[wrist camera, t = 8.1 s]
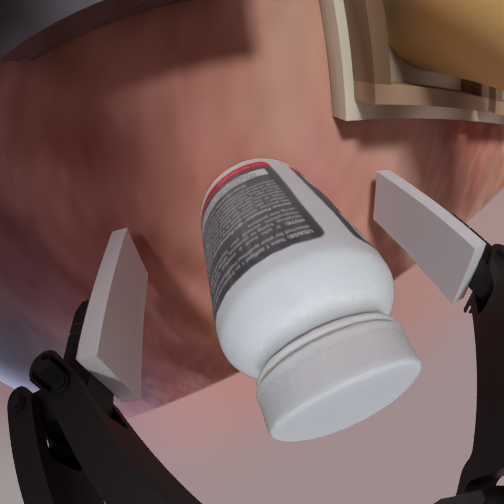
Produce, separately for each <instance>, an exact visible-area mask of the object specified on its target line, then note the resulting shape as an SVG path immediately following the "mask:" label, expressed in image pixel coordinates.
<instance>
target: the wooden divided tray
mask: <svg viewBox="0 0 504 504" xmlns="http://www.w3.org/2000/svg"><path fill="white" fill-rule="evenodd" d="M319 1H320V7H321V13H322V19H323V26H324V32H325V40H326V47H327V55H328V64H329V74H330V84H331V96H332V110H333V116H334V117H337V118H340V119H342V120H345V121H354V120H370V119H402V118H420V119H451V120H466V121H478V122H487V123H496V124H503V125H504V91H502V90H500V89H497V88H494V87H490V86H487V85H484V84H481V83H477V82H474V81H470V80H466V79H462V78H458V77H454V76H450V75H445V74H440V73H435V72H430V71H424V70H420V69H416V68H414V67H412V66H410V65H408V64H407V63H406V62H404V61H403V60H402V59H401V58H400V57H399V56H398V55H397V54H396V53H395V52H394V51H393V49H392V48H391V47H390V45H389V44H388V36H387V27H386V20H385V13H384V7H383V1H382V0H319Z"/></svg>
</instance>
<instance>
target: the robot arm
mask: <svg viewBox="0 0 504 504" xmlns="http://www.w3.org/2000/svg"><path fill="white" fill-rule="evenodd" d="M373 220H375V221H376V222H377V223H378V224H379V225H380V226H381V227H382V228H383V229H384V230H385V231H386V232H387V233H388V234H389V235H390V236H391V237H392V238H393V239H394V240H395V241H396V242H397V243H398V244H399V245H400V246H401V247H402V248H403V249H404V251H405V252H406V253H407V254H408V255H409V256H410V257H411V258H412V259H413V260H414V261H415V262H416V263H417V264H418V266H420V268H421V269H422V270H423V271H424V272H425V273H426V274H427V275H428V277H429V278H430V279H431V280H432V281H433V282H434V283H435V285H436V286H437V287H438V288H439V289H440V290H441V291H442V293H443V294H444V295H445V296H446V298H447V299H448V300H449V301H450V302H451V304H453V303H455V302H457V301H458V300H460V299H462V298H463V297H464V295H465V293H466V291H467V289H468V287H469V288H470V289H471V290H472V291H473V292H472V294H471V296H470V298H469V300H468V302H467V304H466V306H465V307H464V312H466V311H467V309H468V307H469V306H471V309H470V311H469V313H472V316H473V324H474V333H475V343H476V358H477V359H476V360H477V409H476V424H475V435H474V443H473V451H472V454H471V456H470V458H469V460H468V461H467V462H466V464H465V466H464V468H463V470H462V473H461V477H460V481H459V485H458V489H457V493H456V496H454V497H449V498H444V499H440V500H439V501H437V502H436V503H434V504H504V486H496V483H497V482H498V480H499V479H500V478H501V477H502V476H504V245H501V244H494V245H493V246H491V245H490V244H489V243H488V242H486V241H485V240H484V239H483V238H482V237H481V236H480V235H478V234H477V233H476V232H475V231H474V230H472V228H469V226H468V225H467V224H466V223H463V221H462V220H461V219H459V218H458V217H457V216H456V215H454V214H452V213H450V212H448V211H447V210H445V209H444V208H443V207H441V206H440V205H439V204H438V203H436V202H435V201H433V200H432V199H431V198H429V197H428V196H427V195H425V194H424V193H422V192H421V191H420V190H418V189H417V188H415V187H414V186H412V185H411V184H409V183H408V182H407V181H405V180H404V179H402V178H401V177H399V176H397V175H396V174H394V173H393V172H391V171H390V170H383V171H377V173H376V189H375V202H374V213H373ZM147 281H148V273H147V271H146V268H145V266H144V264H143V262H142V260H141V258H140V256H139V253H138V251H137V249H136V247H135V244H134V242H133V240H132V238H131V235H130V233H129V231H128V228H123V229H120V230H117V231H113V232H112V234H111V236H110V239H109V242H108V244H107V247H106V250H105V253H104V256H103V259H102V262H101V265H100V268H99V271H98V274H97V277H96V280H95V283H94V287H93V290H92V294H91V297H90V300H88V301H84V302H82V303H81V305H80V306H79V308H78V309H77V311H76V312H75V316H74V319H73V323H72V324H73V326H72V327H71V330H70V335H69V338H68V342H67V346H66V351H65V355H64V359H62V358H61V357H60V356H59V355H58V354H57V353H56V352H55V351H52V350H49V351H45V352H43V353H41V354H40V355H39V356H38V357H37V358H36V359H35V360H34V362H33V363H32V365H31V368H30V372H29V377H30V381H31V382H32V383H33V384H35V385H36V386H37V387H38V388H39V389H41V390H39V391H37V392H34V393H32V392H31V391H30V390H28V389H27V388H26V387H23V386H21V387H17V388H16V389H15V390H14V391H13V392H12V393H11V395H10V397H9V400H8V407H7V410H8V422H9V432H10V440H11V447H12V453H13V459H14V464H15V469H16V474H17V478H18V483H19V486H20V490H21V494H22V498H23V501H24V504H105V503H106V504H202V503H201V502H200V501H198V500H197V499H196V498H195V497H194V496H193V495H192V494H191V493H190V492H189V491H188V490H186V488H185V487H184V486H183V485H182V484H180V482H179V481H178V480H177V479H176V478H174V476H173V475H172V474H171V473H170V472H169V471H168V470H167V469H166V468H165V467H164V466H163V464H162V463H161V462H160V461H159V460H158V459H157V458H156V457H155V456H154V454H153V453H152V452H151V451H150V450H149V448H148V447H147V446H146V445H145V443H143V441H142V440H141V439H140V437H139V436H138V435H137V434H136V432H135V431H134V430H133V428H132V427H131V426H130V424H129V423H128V422H127V420H126V419H125V418H124V416H123V415H122V413H121V412H120V411H119V409H118V408H117V407H116V406H115V405H114V404H113V396H114V395H115V396H116V397H117V398H118V399H120V400H121V401H133V400H141V368H142V343H143V326H144V312H145V301H146V290H147ZM47 440H48V443H49V448H48V444H47ZM104 502H105V503H104Z"/></svg>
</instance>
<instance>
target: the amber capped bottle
mask: <svg viewBox="0 0 504 504" xmlns="http://www.w3.org/2000/svg"><path fill="white" fill-rule="evenodd" d="M382 1H383V7H384V13H385V20H386V27H387V36H388V44H389V45H390V47H391V48H392V49H393V51H394V52H395V53H396V54H397V55H398V56H399V57H400V58H401V59H402V60H403V61H404V62H406V63H407V64H408V65H410V66H412V67H414V68H416V69H420V70H424V71H430V72H435V73H440V74H445V75H450V76H454V77H458V78H462V79H466V80H470V81H474V82H477V83H481V84H484V85H487V86H490V87H494V88H497V89H500V90H502V91H504V0H382Z"/></svg>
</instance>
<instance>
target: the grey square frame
mask: <svg viewBox="0 0 504 504" xmlns="http://www.w3.org/2000/svg"><path fill="white" fill-rule="evenodd" d="M182 1H187V0H0V62H3V61H19V60H35V59H36V58H38V57H40V56H41V55H43V54H45V53H46V52H48V51H50V50H52V49H54V48H56V47H57V46H59V45H61V44H63V43H65V42H67V41H69V40H71V39H73V38H75V37H77V36H80V35H82V34H84V33H86V32H88V31H91V30H93V29H95V28H98V27H100V26H103V25H105V24H108V23H110V22H113V21H116V20H119V19H121V18H124V17H127V16H130V15H133V14H136V13H140V12H143V11H146V10H150V9H153V8H157V7H161V6H165V5H169V4H173V3H178V2H182Z"/></svg>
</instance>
